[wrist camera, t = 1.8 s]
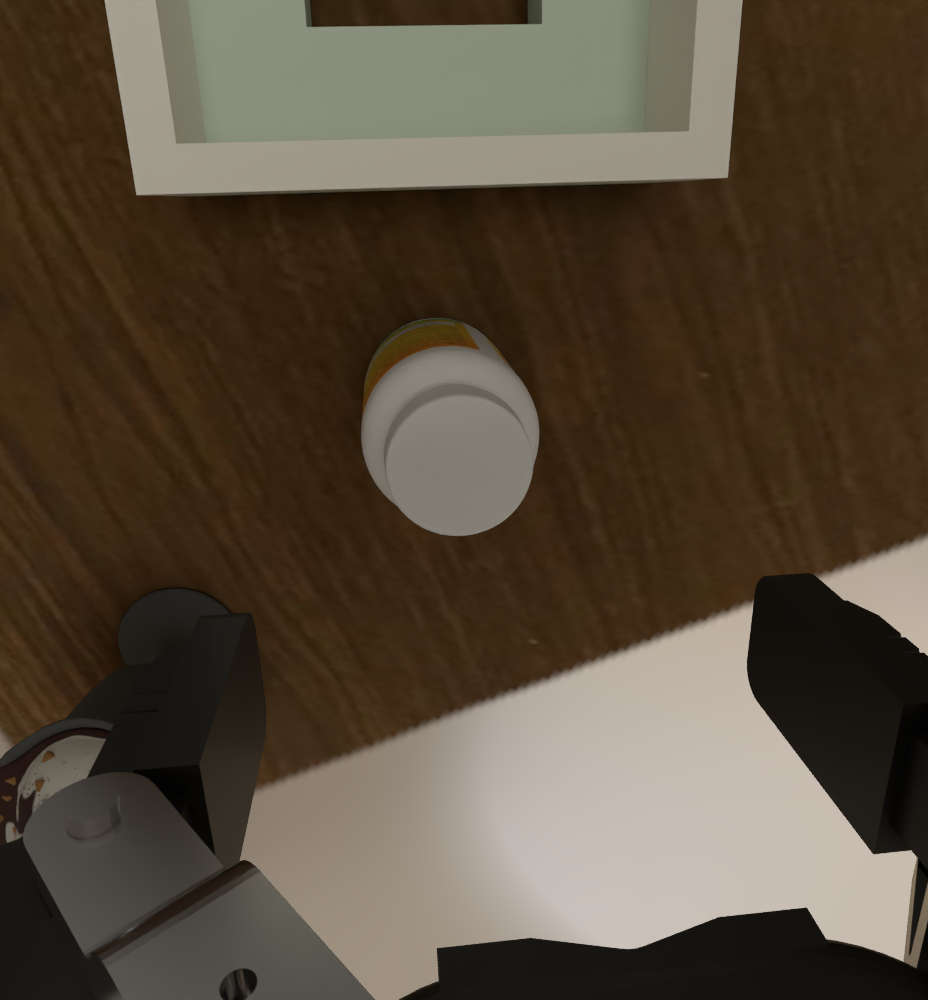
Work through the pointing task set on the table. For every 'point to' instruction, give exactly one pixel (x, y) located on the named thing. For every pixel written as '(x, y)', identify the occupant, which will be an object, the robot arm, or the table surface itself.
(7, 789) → the sundae
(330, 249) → the table surface
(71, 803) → the robot arm
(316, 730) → the table surface
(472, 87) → the bore box
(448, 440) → the supplement bottle
